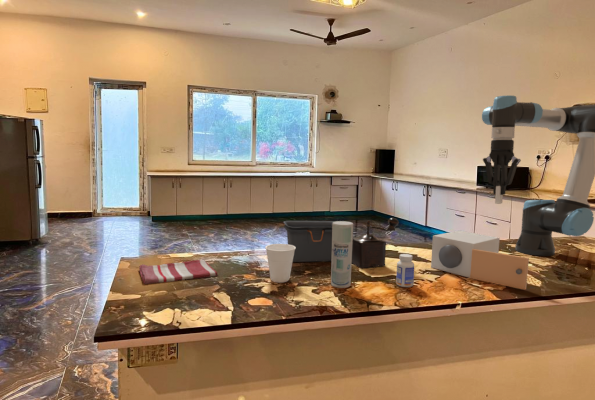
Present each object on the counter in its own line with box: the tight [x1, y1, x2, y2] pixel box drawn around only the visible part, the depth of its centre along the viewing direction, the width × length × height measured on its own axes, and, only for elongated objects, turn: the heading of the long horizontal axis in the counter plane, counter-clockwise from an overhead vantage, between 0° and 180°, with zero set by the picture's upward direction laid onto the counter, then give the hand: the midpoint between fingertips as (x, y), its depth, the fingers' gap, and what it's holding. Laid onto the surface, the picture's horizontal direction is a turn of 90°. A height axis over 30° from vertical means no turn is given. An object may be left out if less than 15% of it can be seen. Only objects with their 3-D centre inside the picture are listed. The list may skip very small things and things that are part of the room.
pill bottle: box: [395, 253, 415, 288], centre depth 136 cm, size 5×5×10 cm
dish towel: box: [139, 259, 219, 285], centre depth 144 cm, size 17×23×3 cm
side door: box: [470, 249, 530, 290], centre depth 138 cm, size 17×2×10 cm, turn 49°
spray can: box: [330, 220, 354, 289], centre depth 134 cm, size 6×6×20 cm
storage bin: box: [283, 220, 335, 263], centre depth 164 cm, size 21×16×14 cm
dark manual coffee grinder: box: [351, 217, 400, 269], centre depth 160 cm, size 16×11×18 cm
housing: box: [430, 230, 500, 279], centre depth 156 cm, size 20×16×12 cm
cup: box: [264, 243, 296, 284], centre depth 138 cm, size 10×10×11 cm
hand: (498, 203), depth 158 cm, fingers closed
